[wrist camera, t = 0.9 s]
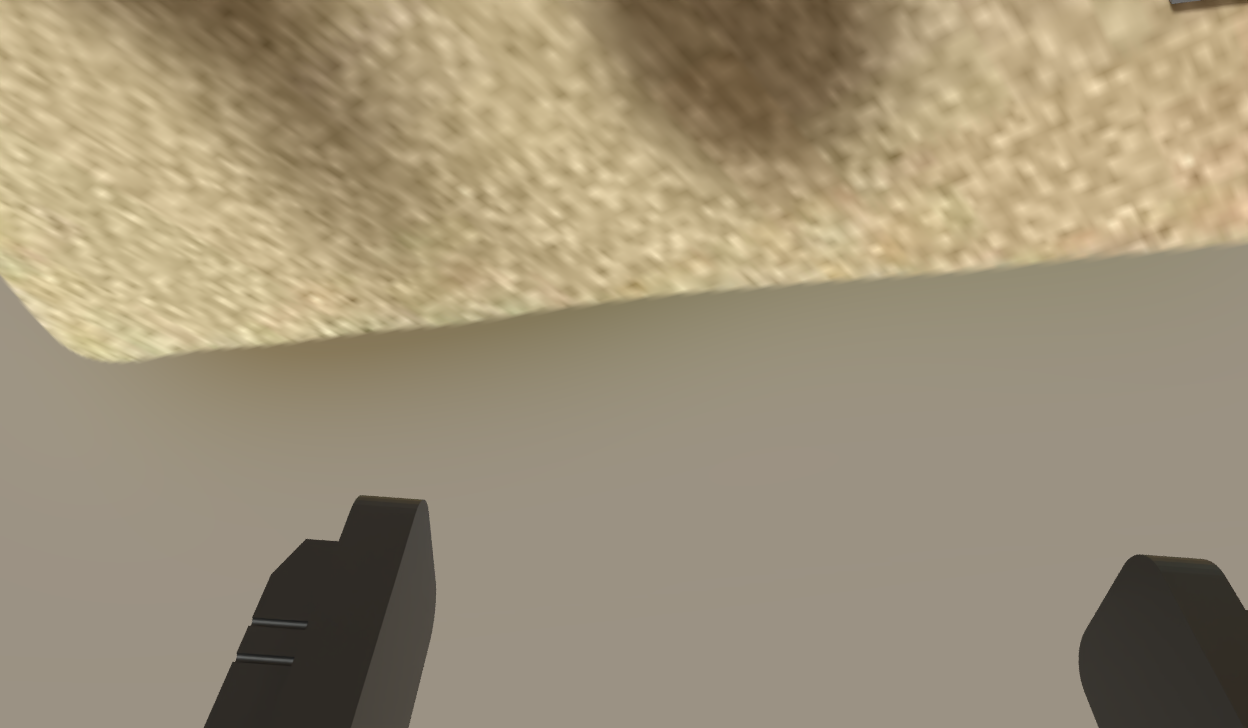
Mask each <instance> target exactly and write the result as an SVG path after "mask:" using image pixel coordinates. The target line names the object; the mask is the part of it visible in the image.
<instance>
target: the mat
mask: <svg viewBox="0 0 1248 728" xmlns="http://www.w3.org/2000/svg"><path fill="white" fill-rule="evenodd" d="M1169 1H1170V2H1171V4H1175V3H1183V2H1191V1H1199V0H1169Z"/></svg>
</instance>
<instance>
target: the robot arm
mask: <svg viewBox="0 0 1248 728" xmlns="http://www.w3.org/2000/svg"><path fill="white" fill-rule="evenodd" d="M435 603H436V581H435V571H434V561H433V551H432V541H431V531H430V521H429V511H428V506H427V503H426V501H425V500H419V499H404V498H391V497H378V496H364V495H362V496H361V495H360V496H359V497H358V498H357V499H356V500H355V502H354V504H353V506H352V508H351V511H350V513H349V516H348V518H347V521H346V524H345V526H344V529H343V532H342V534H341V537H340V539H339V541H325V540H311V539H306V540H305V541H304V542H303V543H302V544H301V545H300V546H299V547H298V548H297V549H296V550H295V551H294V552H293V553H292V554H291V555H290V556H289V557H288V558H287V559H286V560H285V561H284V562H283V563H282V564H281V565H280V566H279V567H278V568H277V569H276V570H275V571H274V572H273V573H272V574H271V576H270V578H269V581H268V583H267V585H266V587H265V590H264V592H263V594H262V597H261V599H260V601H259V603H258V606H257V608H256V610H255V612H254V615H253V617H252V618H253V620H252V625H251V626H248V628H247V631H246V633H245V635H244V638H243V640H242V642H241V644H240V647H239V649H238V651H237V658H236V661H235V662H232V665H231V667H230V669H229V672H228V674H227V676H226V679H225V681H224V683H223V685H222V687H221V690H220V692H219V695H218V697H217V699H216V701H215V704H214V706H213V708H212V710H211V712H210V715H209V717H208V719H207V722H206V724H205V726H204V728H408V727H409V723H410V719H411V715H412V711H413V707H414V703H415V699H416V695H417V691H418V687H419V683H420V679H421V674H422V670H423V667H424V663H425V658H426V655H427V651H428V647H429V642H430V638H431V634H432V628H433V621H434V614H435ZM1079 672H1080V677H1081V682H1082V686H1083V689H1084V692H1085V694H1086V697H1087V699H1088V702H1089V704H1090V707H1091V709H1092V712H1093V714H1094V717H1095V719H1096V722H1097V724H1098V727H1099V728H1248V610H1245V608H1244V607H1243V605H1242V603H1241V602H1240V600H1239V598H1238V597H1237V595H1236V593H1235V592H1234V590H1233V588H1232V587H1231V585H1230V583H1229V582H1228V580H1227V579H1226V577H1225V575H1224V574H1223V572H1222V571H1221V570H1220V569H1219V568H1218V567H1217V565H1215V564H1214V563H1212V562H1211V561H1208V560H1204V559H1193V558H1181V557H1167V556H1153V555H1134V556H1133V557H1131V558H1130V559H1128V560H1127V562H1126V563H1125V565H1124V566H1123V567H1122V570H1121V571H1120V573H1119V574H1118V576H1117V578H1116V579H1115V581H1114V583H1113V584H1112V586H1111V588H1110V590H1109V591H1108V593H1107V595H1106V596H1105V598H1104V600H1103V602H1102V603H1101V605H1100V607H1099V608H1098V610H1097V612H1096V613H1095V615H1094V617H1093V618H1092V620H1091V622H1090V624H1089V625H1088V627H1087V629H1086V630H1085V632H1084V634H1083V637H1082V640H1081V643H1080V648H1079Z"/></svg>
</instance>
